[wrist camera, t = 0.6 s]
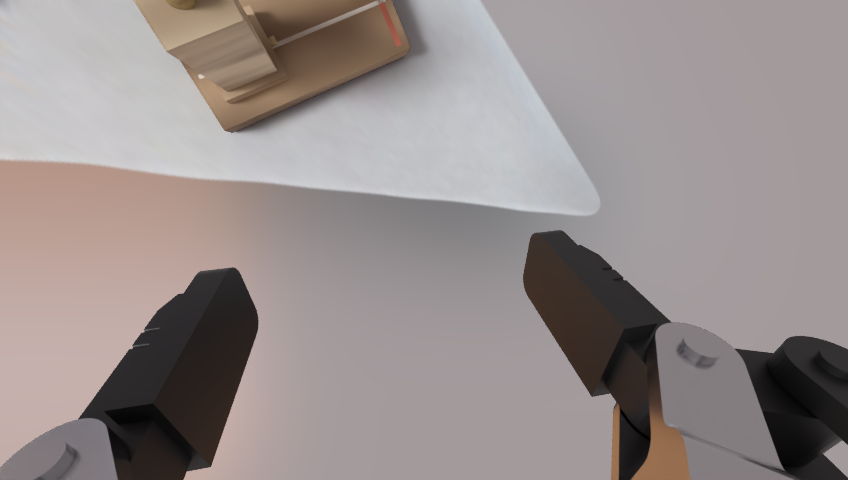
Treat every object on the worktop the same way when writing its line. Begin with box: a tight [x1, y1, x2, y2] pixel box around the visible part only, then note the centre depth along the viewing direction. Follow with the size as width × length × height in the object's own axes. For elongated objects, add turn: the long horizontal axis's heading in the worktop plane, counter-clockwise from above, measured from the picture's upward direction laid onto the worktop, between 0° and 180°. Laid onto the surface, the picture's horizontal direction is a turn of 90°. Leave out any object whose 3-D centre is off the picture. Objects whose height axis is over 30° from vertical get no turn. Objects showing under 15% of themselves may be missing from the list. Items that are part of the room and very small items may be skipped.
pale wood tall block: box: [134, 0, 289, 104], centre depth 19 cm, size 5×6×11 cm
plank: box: [181, 0, 411, 133], centre depth 26 cm, size 10×17×2 cm, turn 115°
